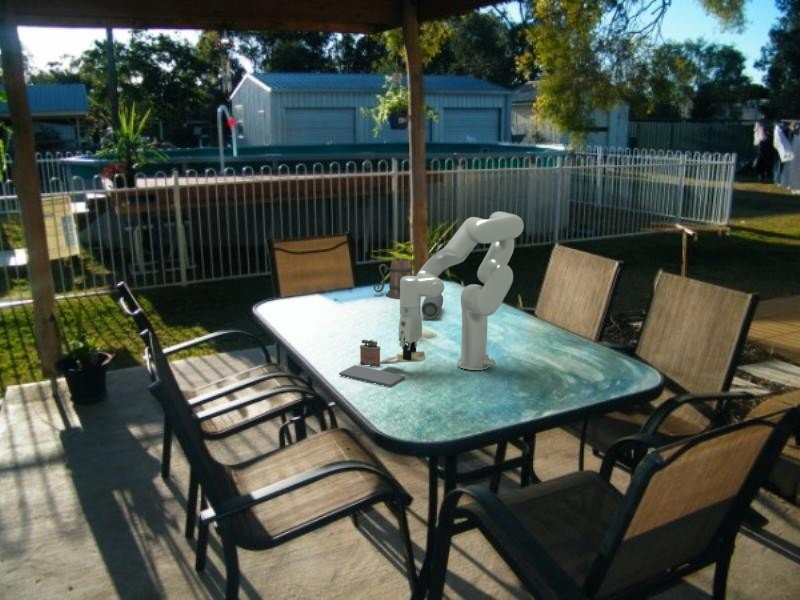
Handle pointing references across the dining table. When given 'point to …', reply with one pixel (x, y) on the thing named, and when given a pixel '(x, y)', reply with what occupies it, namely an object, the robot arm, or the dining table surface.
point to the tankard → (395, 276)
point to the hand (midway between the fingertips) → (409, 358)
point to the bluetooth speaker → (432, 306)
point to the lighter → (370, 353)
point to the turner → (414, 358)
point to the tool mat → (372, 375)
